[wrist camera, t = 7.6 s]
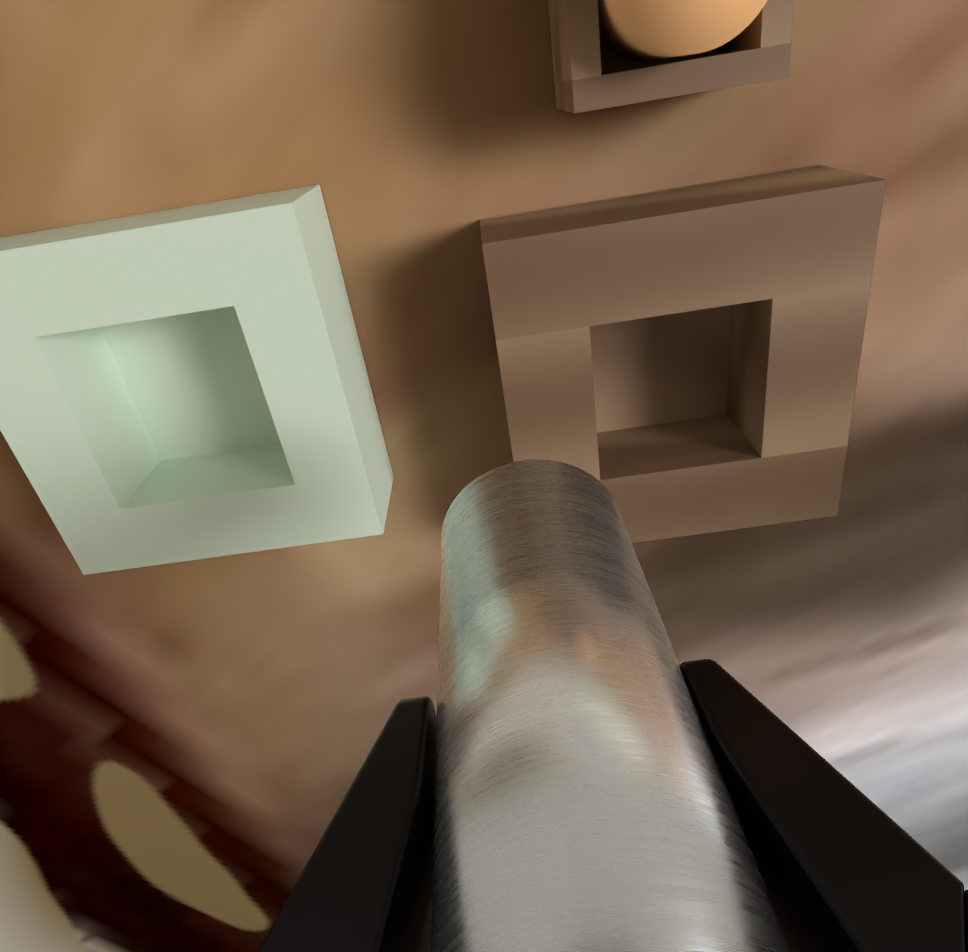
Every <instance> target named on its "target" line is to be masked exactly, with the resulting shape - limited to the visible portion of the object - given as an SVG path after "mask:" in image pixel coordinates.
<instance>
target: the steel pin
mask: <svg viewBox="0 0 968 952" xmlns="http://www.w3.org/2000/svg"><path fill="white" fill-rule="evenodd" d="M431 952H791V950H790V948H789V945H788V942H787V940H786V937H785V935H784V932H783V930H782V927H781V924H780V922H779V919H778V917H777V914H776V912H775V909H774V906H773V904H772V901H771V899H770V896H769V894H768V891H767V889H766V886H765V883H764V881H763V878H762V876H761V873H760V871H759V868H758V865H757V863H756V860H755V858H754V855H753V853H752V850H751V848H750V845H749V842H748V840H747V837H746V835H745V832H744V830H743V827H742V824H741V822H740V819H739V817H738V814H737V812H736V809H735V806H734V804H733V801H732V799H731V796H730V794H729V791H728V789H727V786H726V783H725V781H724V778H723V776H722V773H721V771H720V768H719V765H718V763H717V760H716V758H715V755H714V753H713V750H712V748H711V745H710V743H709V740H708V738H707V735H706V733H705V730H704V727H703V725H702V722H701V720H700V717H699V715H698V712H697V709H696V707H695V704H694V702H693V699H692V697H691V694H690V691H689V689H688V686H687V684H686V681H685V679H684V676H683V673H682V671H681V668H680V665H679V663H678V660H677V658H676V655H675V653H674V650H673V647H672V645H671V642H670V640H669V637H668V635H667V632H666V630H665V627H664V624H663V622H662V619H661V617H660V614H659V612H658V609H657V606H656V604H655V601H654V599H653V596H652V594H651V591H650V589H649V586H648V583H647V581H646V578H645V576H644V573H643V571H642V568H641V565H640V563H639V560H638V558H637V555H636V553H635V550H634V547H633V545H632V542H631V540H630V537H629V535H628V532H627V530H626V527H625V524H624V522H623V519H622V517H621V514H620V512H619V509H618V506H617V504H616V502H615V500H614V498H613V497H612V495H611V494H610V492H609V491H608V490H607V488H606V487H605V486H604V485H603V484H602V483H601V482H600V481H599V480H597V479H596V478H595V477H593V476H592V475H591V474H589V473H587V472H586V471H584V470H582V469H580V468H577V467H575V466H573V465H570V464H566V463H563V462H559V461H552V460H540V459H532V460H521V461H516V462H511V463H507V464H504V465H501V466H498V467H496V468H493V469H491V470H489V471H487V472H485V473H483V474H482V475H480V476H479V477H477V478H475V479H474V480H473V481H472V482H470V483H469V484H468V485H467V486H466V487H465V488H464V489H463V490H462V491H461V492H460V493H459V494H458V495H457V496H456V498H455V499H454V501H453V502H452V503H451V505H450V507H449V509H448V511H447V513H446V516H445V519H444V522H443V527H442V536H441V575H440V615H439V654H438V694H437V734H436V773H435V813H434V853H433V892H432V932H431Z"/></svg>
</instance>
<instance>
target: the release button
mask: <svg viewBox="0 0 968 952" xmlns="http://www.w3.org/2000/svg"><path fill="white" fill-rule="evenodd" d="M766 2H767V0H598V17H599V37H600V40H601V41H602V43H603V44H604V45H605V46H606V47H608V48H609V49H610V50H611V51H613V52H614V53H616V54H618V55H619V56H622V57H624V58H627V59H631V60H638V61H647V60H656V59H663V58H670V57H677V56H684V55H691V54H698V53H702V52H706V51H710V50H712V49H715V48H717V47H720V46H722V45H723V44H725V43H727V42H729V41H730V40H732V39H733V38H735V37H736V36H737V35H739V34H740V33H741V32H742V31H743V30H744V29H745V28H746V27H747V26H749V25H750V23H751V22H752V21H753V20H754V19H755V18H756V16H757V15H758V14H759V13H760V11H761V10H762V8H763V7H764V5H765V4H766Z"/></svg>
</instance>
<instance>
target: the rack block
mask: <svg viewBox="0 0 968 952" xmlns="http://www.w3.org/2000/svg"><path fill="white" fill-rule="evenodd" d="M0 431H1V432H2V434H3V436H4V438H5V439H6V441H7V443H8V444H9V446H10V448H11V450H12V451H13V453H14V455H15V457H16V458H17V460H18V462H19V464H20V465H21V467H22V469H23V471H24V472H25V474H26V476H27V477H28V479H29V481H30V483H31V484H32V486H33V488H34V490H35V491H36V493H37V495H38V497H39V498H40V500H41V502H42V503H43V505H44V507H45V509H46V510H47V512H48V514H49V516H50V517H51V519H52V521H53V523H54V524H55V526H56V528H57V529H58V531H59V533H60V535H61V536H62V538H63V540H64V542H65V543H66V545H67V547H68V549H69V550H70V552H71V554H72V555H73V557H74V559H75V561H76V562H77V564H78V566H79V568H80V569H81V571H82V573H83V575H87V574H95V573H102V572H109V571H117V570H124V569H131V568H139V567H146V566H153V565H161V564H168V563H175V562H183V561H190V560H197V559H205V558H212V557H219V556H227V555H234V554H241V553H249V552H256V551H263V550H270V549H278V548H285V547H292V546H300V545H307V544H314V543H322V542H329V541H336V540H344V539H351V538H358V537H366V536H373V535H380V534H383V532H384V527H385V521H386V516H387V510H388V505H389V500H390V494H391V489H392V484H393V478H394V477H393V473H392V469H391V465H390V462H389V458H388V454H387V450H386V446H385V442H384V438H383V434H382V430H381V426H380V422H379V418H378V414H377V410H376V406H375V402H374V398H373V394H372V390H371V386H370V383H369V379H368V375H367V371H366V367H365V363H364V359H363V355H362V351H361V347H360V343H359V339H358V335H357V331H356V327H355V323H354V319H353V315H352V311H351V307H350V304H349V300H348V296H347V292H346V288H345V284H344V280H343V276H342V272H341V268H340V264H339V260H338V256H337V252H336V248H335V244H334V240H333V236H332V232H331V228H330V225H329V221H328V217H327V213H326V209H325V205H324V201H323V197H322V193H321V189H320V185H319V184H318V185H312V186H306V187H300V188H294V189H288V190H282V191H276V192H270V193H264V194H258V195H252V196H247V197H241V198H235V199H229V200H223V201H217V202H211V203H205V204H199V205H193V206H187V207H181V208H175V209H169V210H163V211H157V212H151V213H145V214H139V215H133V216H127V217H121V218H115V219H109V220H103V221H97V222H91V223H85V224H79V225H73V226H67V227H61V228H55V229H49V230H43V231H37V232H31V233H25V234H19V235H13V236H7V237H1V238H0Z"/></svg>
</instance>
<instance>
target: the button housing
mask: <svg viewBox="0 0 968 952" xmlns="http://www.w3.org/2000/svg"><path fill="white" fill-rule="evenodd" d="M793 6H794V0H767V2H766V4H765V5H764V7H763V8H762V10H761V11H760V13H759V14H758V15H757V16H756V18H755V19H754V20H753V21H752V22H751V23H750V25H749V26H747V27H746V28H745V29H744V30H743V31H742V32H741V33H740V34H739V35H737V36H736V37H735V38H733V39H732V40H730V41H729V42H727V43H725V44H723V45H722V46H720V47H717V48H715V49H712V50H710V51H706V52H702V53H698V54H691V55H684V56H677V57H670V58H663V59H656V60H647V61H638V60H631V59H627V58H624V57H622V56H619V55H618V54H616V53H614V52H613V51H611V50H610V49H609V48H608V47H606V46H605V45H604V44H603V43H602V41H601V40H600V37H599V17H598V0H548V11H549V23H550V36H551V48H552V60H553V72H554V84H555V96H556V109H558V110H562V111H566V112H570V113H580V112H586V111H592V110H598V109H604V108H610V107H616V106H622V105H628V104H634V103H640V102H645V101H651V100H657V99H663V98H669V97H675V96H681V95H687V94H693V93H699V92H705V91H710V90H716V89H722V88H728V87H734V86H740V85H746V84H752V83H758V82H764V81H770V80H775V79H781V78H787V77H789V62H790V48H791V34H792V20H793Z"/></svg>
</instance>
